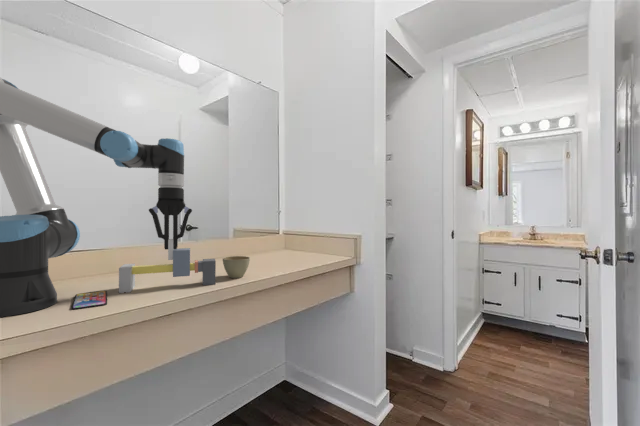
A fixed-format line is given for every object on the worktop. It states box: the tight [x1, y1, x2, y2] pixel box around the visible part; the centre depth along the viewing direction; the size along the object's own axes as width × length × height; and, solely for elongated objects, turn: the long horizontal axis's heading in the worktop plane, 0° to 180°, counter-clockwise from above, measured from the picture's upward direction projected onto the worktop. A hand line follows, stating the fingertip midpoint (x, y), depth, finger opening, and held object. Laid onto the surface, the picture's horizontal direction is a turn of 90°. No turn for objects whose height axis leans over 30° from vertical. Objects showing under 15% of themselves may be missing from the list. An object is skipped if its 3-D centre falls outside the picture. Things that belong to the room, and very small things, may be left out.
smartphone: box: [71, 290, 108, 311], centre depth 83 cm, size 7×1×15 cm
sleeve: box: [172, 247, 191, 278], centre depth 100 cm, size 5×5×8 cm
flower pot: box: [222, 255, 251, 279], centre depth 113 cm, size 10×10×7 cm
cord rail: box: [118, 258, 217, 294], centre depth 98 cm, size 28×7×8 cm, turn 113°
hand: (171, 259), depth 98 cm, fingers closed
